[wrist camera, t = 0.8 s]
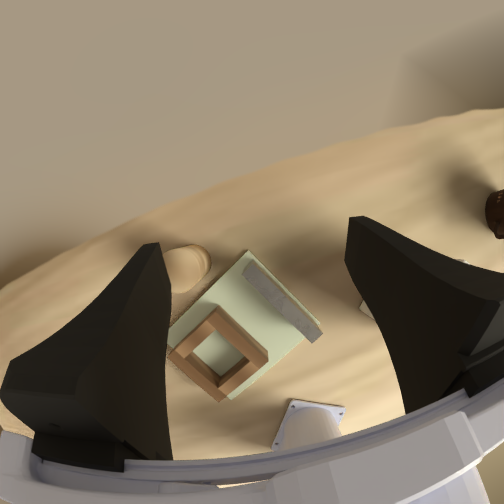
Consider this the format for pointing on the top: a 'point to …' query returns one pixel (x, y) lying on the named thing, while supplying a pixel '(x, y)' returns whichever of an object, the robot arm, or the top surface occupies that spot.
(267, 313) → the board
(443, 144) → the top surface
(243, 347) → the brown wooden square frame
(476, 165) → the top surface
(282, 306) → the wall
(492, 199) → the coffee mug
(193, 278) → the dowel
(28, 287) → the top surface
